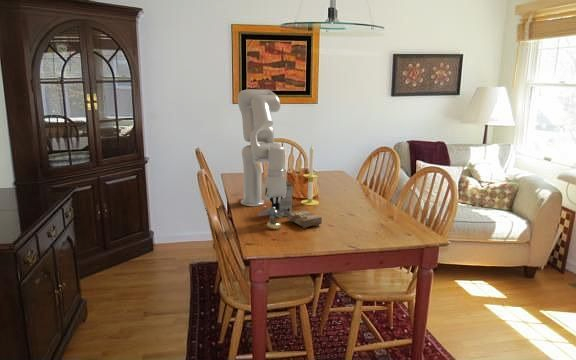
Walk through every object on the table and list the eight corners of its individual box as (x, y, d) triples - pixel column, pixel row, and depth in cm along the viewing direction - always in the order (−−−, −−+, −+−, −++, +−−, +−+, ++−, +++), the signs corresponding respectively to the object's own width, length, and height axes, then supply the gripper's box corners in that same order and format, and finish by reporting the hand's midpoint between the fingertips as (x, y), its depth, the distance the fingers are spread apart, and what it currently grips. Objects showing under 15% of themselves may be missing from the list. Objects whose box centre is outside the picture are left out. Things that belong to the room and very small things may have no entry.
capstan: (249, 223, 214) (249, 204, 212) (276, 218, 222) (276, 200, 220) (266, 234, 201) (266, 214, 199) (295, 228, 209) (295, 209, 207)
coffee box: (273, 211, 235) (274, 180, 231) (285, 210, 237) (286, 179, 233) (279, 216, 226) (280, 184, 222) (292, 215, 228) (293, 184, 225)
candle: (309, 206, 244) (311, 146, 236) (297, 202, 252) (298, 143, 244) (322, 203, 250) (325, 144, 243) (310, 199, 258) (312, 141, 250)
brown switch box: (287, 220, 220) (287, 209, 219) (304, 217, 225) (304, 206, 224) (303, 229, 209) (304, 217, 207) (321, 226, 214) (321, 214, 213)
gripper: (285, 169, 220) (284, 206, 224) (257, 172, 212) (257, 210, 216) (293, 172, 214) (292, 210, 218) (266, 176, 206) (265, 215, 210)
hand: (275, 210), depth 217 cm, fingers closed
